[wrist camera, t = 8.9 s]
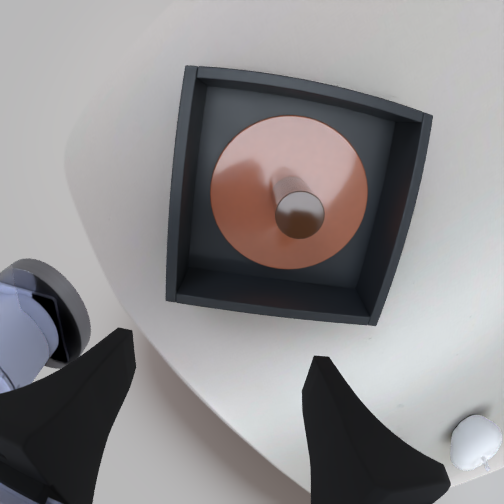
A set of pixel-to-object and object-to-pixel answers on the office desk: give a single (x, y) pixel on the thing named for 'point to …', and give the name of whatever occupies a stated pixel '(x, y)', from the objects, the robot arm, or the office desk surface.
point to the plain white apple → (474, 442)
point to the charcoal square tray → (303, 279)
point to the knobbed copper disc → (288, 192)
